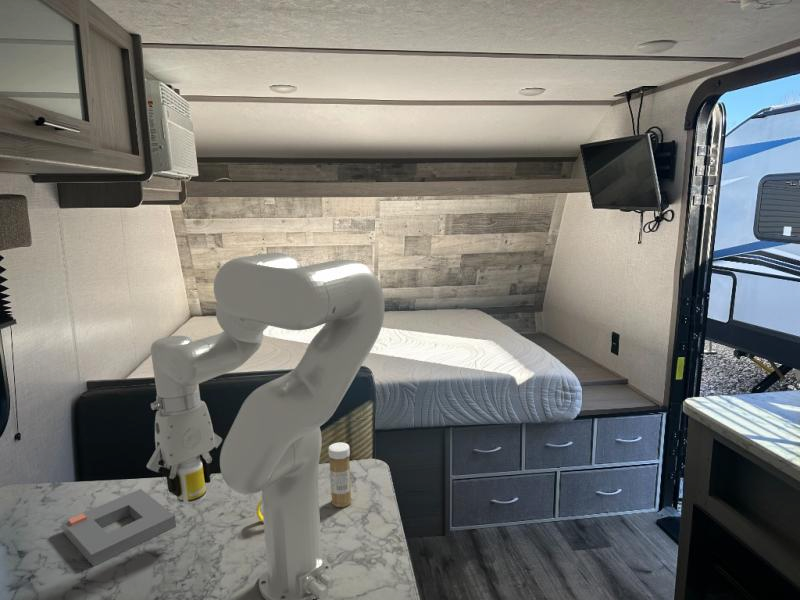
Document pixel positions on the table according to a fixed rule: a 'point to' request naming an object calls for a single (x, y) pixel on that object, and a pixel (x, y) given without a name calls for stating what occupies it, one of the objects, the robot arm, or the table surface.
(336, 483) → the sprinkles bottle
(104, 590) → the table surface
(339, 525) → the table surface
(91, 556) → the block with square hole
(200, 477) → the supplement bottle
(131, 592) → the table surface
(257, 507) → the watch
